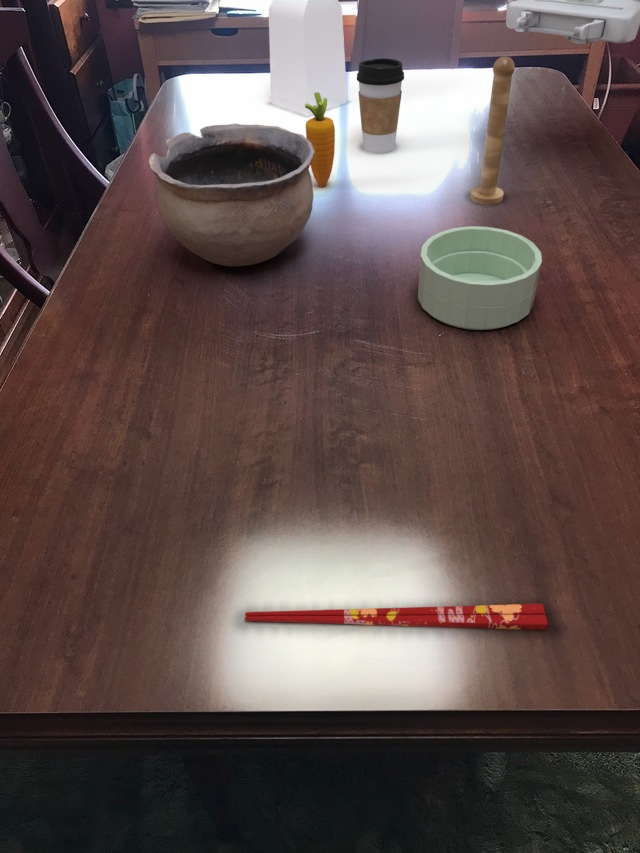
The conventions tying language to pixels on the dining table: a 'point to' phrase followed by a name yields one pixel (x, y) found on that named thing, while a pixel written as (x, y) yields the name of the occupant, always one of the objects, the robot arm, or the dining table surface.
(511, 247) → the celadon bowl
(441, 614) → the chopstick
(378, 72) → the coffee cup
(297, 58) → the milk
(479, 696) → the dining table surface
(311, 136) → the carrot
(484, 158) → the muddler
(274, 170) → the ceramic bowl
